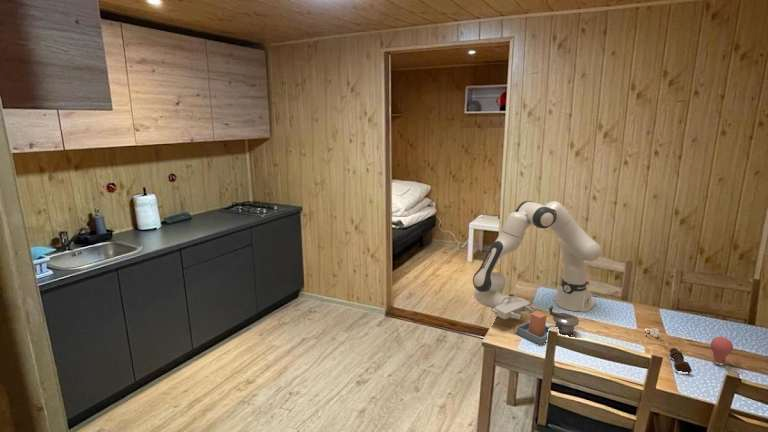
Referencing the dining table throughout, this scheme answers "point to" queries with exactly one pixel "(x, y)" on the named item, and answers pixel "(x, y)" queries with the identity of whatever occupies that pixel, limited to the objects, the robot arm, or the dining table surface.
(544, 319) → the block
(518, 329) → the tray
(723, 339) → the light bulb
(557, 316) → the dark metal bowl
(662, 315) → the dining table surface
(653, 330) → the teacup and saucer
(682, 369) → the brown shoe
